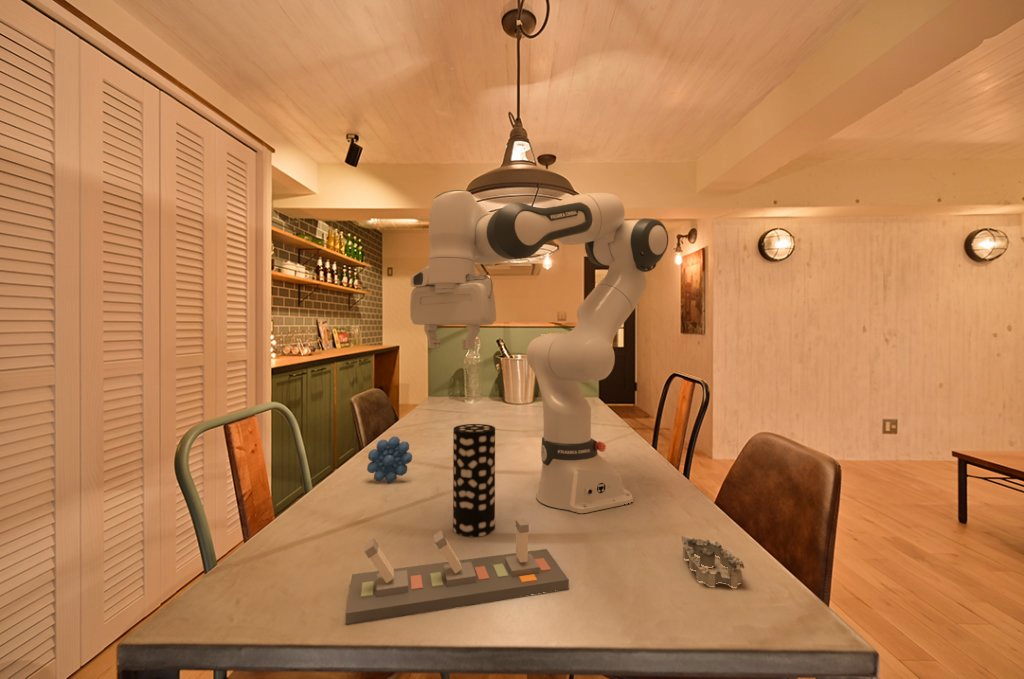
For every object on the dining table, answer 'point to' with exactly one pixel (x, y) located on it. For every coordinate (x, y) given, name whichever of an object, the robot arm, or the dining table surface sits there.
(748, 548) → the dining table surface
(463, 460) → the white-spotted black cylinder
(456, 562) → the breaker mid
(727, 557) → the egg carton
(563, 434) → the robot arm
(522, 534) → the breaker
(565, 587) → the breaker panel
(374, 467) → the blue lobed flower shape
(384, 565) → the breaker far
